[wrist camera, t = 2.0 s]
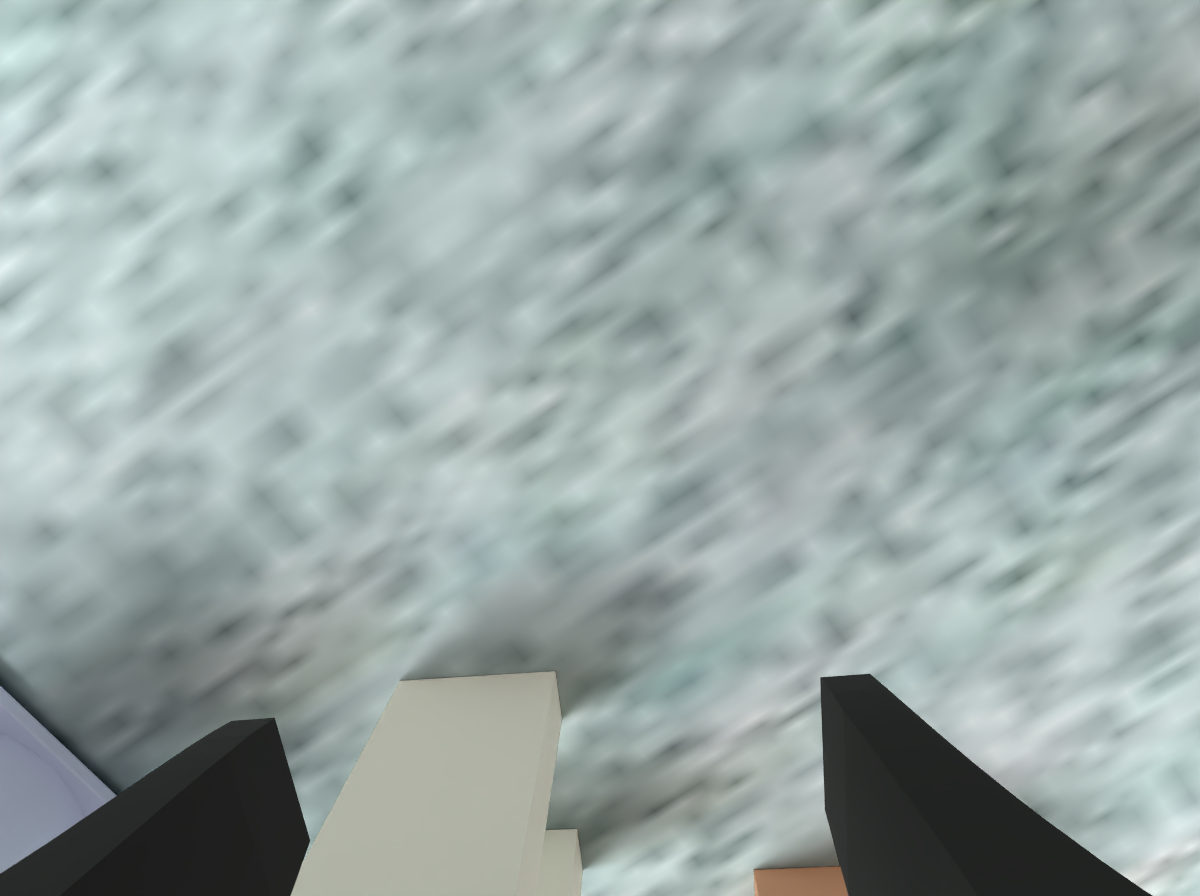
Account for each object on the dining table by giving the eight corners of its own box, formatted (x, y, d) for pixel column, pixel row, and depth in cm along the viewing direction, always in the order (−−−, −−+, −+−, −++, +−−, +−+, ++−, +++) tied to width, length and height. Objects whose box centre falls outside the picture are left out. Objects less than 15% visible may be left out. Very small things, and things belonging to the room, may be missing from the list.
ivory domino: (562, 719, 20) (518, 1013, 12) (409, 728, 20) (274, 1020, 13) (555, 671, 20) (506, 945, 12) (399, 680, 20) (254, 954, 12)
